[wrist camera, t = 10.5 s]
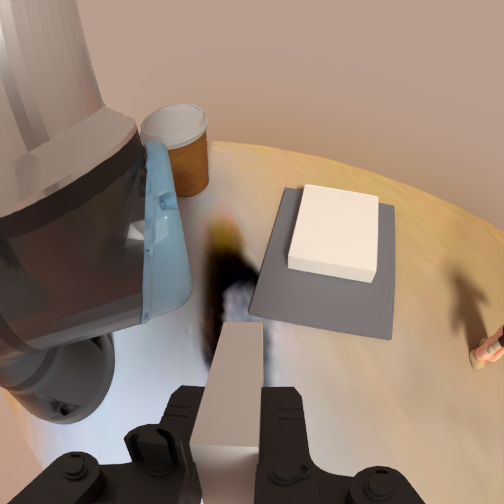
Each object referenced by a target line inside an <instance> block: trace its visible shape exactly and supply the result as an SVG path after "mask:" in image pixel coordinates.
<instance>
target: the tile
mask: <svg viewBox="0 0 504 504" xmlns="http://www.w3.org/2000/svg"><path fill="white" fill-rule="evenodd" d="M377 247H378V196H374V195H368V194H363V193H357V192H352V191H346V190H340V189H334V188H328V187H322V186H315V185H309V184H305V187H304V192H303V196H302V200H301V205H300V209H299V213H298V217H297V222H296V226H295V230H294V234H293V238H292V242H291V246H290V250H289V254H288V268H289V269H295V270H300V271H306V272H311V273H317V274H323V275H328V276H334V277H339V278H345V279H351V280H356V281H362V282H368V283H371V282H372V280H373V278H374V276H375V273H376V269H377Z"/></svg>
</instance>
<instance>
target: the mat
mask: <svg viewBox="0 0 504 504" xmlns="http://www.w3.org/2000/svg"><path fill="white" fill-rule="evenodd" d="M303 192H304V190H299V189H292V188H285V191H284V195H283V198H282V202H281V205H280V209H279V212H278V215H277V219H276V222H275V226H274V229H273V232H272V236H271V239H270V243H269V246H268V249H267V253H266V256H265V259H264V263H263V266H262V269H261V273H260V276H259V279H258V283H257V286H256V289H255V293H254V296H253V299H252V303H251V306H250V309H249V315H254V316H258V317H263V318H268V319H273V320H278V321H283V322H288V323H293V324H298V325H303V326H309V327H314V328H319V329H325V330H331V331H336V332H342V333H348V334H354V335H360V336H366V337H372V338H379V339H386V340H391V338H392V327H393V312H394V291H395V214H394V206H392V205H387V204H382V203H378V247H377V269H376V273H375V276H374V278H373V280H372V282H371V283H368V282H362V281H356V280H351V279H345V278H339V277H334V276H328V275H323V274H317V273H311V272H306V271H300V270H295V269H289V268H288V254H289V250H290V246H291V242H292V238H293V234H294V230H295V226H296V222H297V217H298V213H299V209H300V205H301V200H302V196H303Z"/></svg>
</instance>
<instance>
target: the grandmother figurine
mask: <svg viewBox="0 0 504 504" xmlns="http://www.w3.org/2000/svg"><path fill="white" fill-rule="evenodd" d="M503 354H504V325H503V326H501V327H500V328H499V329H498V331H497V332H496V333H495V334H494V335H493V336H491V337H489V338H487V339H486V338H483V339H481V340H480V342H479V348H477V349H473V350H472V351H471V352H470V354H469V356H470V360H471V363H472V367H473V368H474V369H475V370H476V371H479V370H481V369H483V367H484V366H485V360H488V361H490V362H495V361H496V360H497V359H499V358H500V357H501V356H502V355H503Z"/></svg>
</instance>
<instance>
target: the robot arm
mask: <svg viewBox="0 0 504 504" xmlns="http://www.w3.org/2000/svg"><path fill="white" fill-rule="evenodd" d="M191 292H192V275H191V269H190V263H189V257H188V252H187V247H186V242H185V237H184V231H183V226H182V221H181V216H180V212H179V207H178V205H177V197H176V192H175V187H174V179H173V174H172V168H171V163H170V159H169V154H168V150H167V147H166V145H165V144H164V143H162V142H153V141H149V142H147V143H145V145H144V146H143V145H142V142H141V139H140V136H139V133H138V130H137V126H136V123H135V121H134V120H133V119H131V118H129V117H127V116H125V115H122V114H121V113H118V112H116V111H114V110H112V109H109V108H107V107H106V105H105V104H104V102H103V101H102V98H101V94H100V91H99V88H98V84H97V81H96V78H95V75H94V71H93V67H92V63H91V60H90V56H89V52H88V49H87V45H86V41H85V37H84V33H83V29H82V25H81V21H80V16H79V12H78V8H77V3H76V0H0V386H1V387H3V388H5V389H7V390H8V391H9V392H10V393H11V394H12V396H13V397H14V398H15V399H16V400H17V401H18V402H19V403H20V404H21V405H22V406H23V407H24V408H26V409H27V410H28V411H29V412H30V413H31V414H33V415H35V416H36V417H38V418H40V419H43V420H46V421H49V422H52V423H56V424H71V423H75V422H78V421H81V420H83V419H84V418H86V417H88V416H89V415H90V414H91V413H93V412H94V411H95V410H96V409H97V408H98V406H99V405H100V404H101V402H102V401H103V399H104V398H105V396H106V394H107V392H108V390H109V387H110V384H111V381H112V377H113V371H114V352H113V346H112V343H111V340H110V337H109V335H108V333H111V332H114V331H118V330H121V329H125V328H128V327H132V326H135V325H138V324H145V323H147V322H148V320H149V319H152V318H154V317H157V316H160V315H162V314H165V313H167V312H170V311H172V310H175V309H177V308H179V307H180V306H182V305H183V304H184V303H185V302H186V301H187V300H188V298H189V297H190V294H191ZM163 414H164V415H163V416H162V418H161V421H160V423H159V424H147V425H143V426H139V427H136V428H135V429H133V430H131V431H129V432H128V434H127V435H126V436H125V437H124V441H125V444H126V446H127V449H128V452H129V454H130V457H131V459H132V462H130V463H125V464H109V465H99V463H98V461H97V459H96V458H94V457H93V456H92V455H90V454H88V453H84V452H69V453H66V454H63V455H62V456H60V457H58V458H57V459H56V460H55V461H54V462H52V463H51V464H50V465H49V466H48V467H47V468H46V469H45V470H44V471H43V472H42V473H41V474H39V475H38V476H37V477H36V478H35V479H34V480H33V481H32V482H31V483H30V484H29V485H27V486H26V487H25V488H24V489H23V490H22V491H21V492H20V493H19V494H18V495H16V496H15V497H14V498H13V499H12V500H11V501H10V502H9V503H7V504H200V503H201V498H202V499H203V503H204V504H425V502H424V501H423V500H422V499H421V497H420V496H419V495H418V493H417V492H416V491H415V490H414V488H413V487H412V486H411V484H410V483H409V482H408V480H407V479H406V478H405V477H404V476H403V475H402V474H401V473H400V472H399V471H397V470H395V469H392V468H390V467H384V466H374V467H369V468H366V469H364V470H362V471H360V472H358V473H357V474H356V475H355V476H354V477H350V476H342V475H336V474H331V473H328V472H326V471H324V470H321V469H320V468H319V467H317V466H316V465H315V464H314V462H313V461H312V460H311V457H310V454H309V447H308V439H307V432H306V424H305V419H304V410H303V403H302V396H301V395H300V394H299V393H298V391H297V390H296V389H295V388H294V387H263V322H224V324H223V327H222V331H221V334H220V338H219V341H218V345H217V348H216V352H215V355H214V359H213V362H212V366H211V369H210V372H209V376H208V379H207V383H206V386H205V387H199V386H184V385H182V386H180V387H179V388H178V389H177V390H176V391H175V392H174V393H172V394H171V397H170V399H169V402H168V404H167V407H166V409H165V411H164V413H163Z"/></svg>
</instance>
